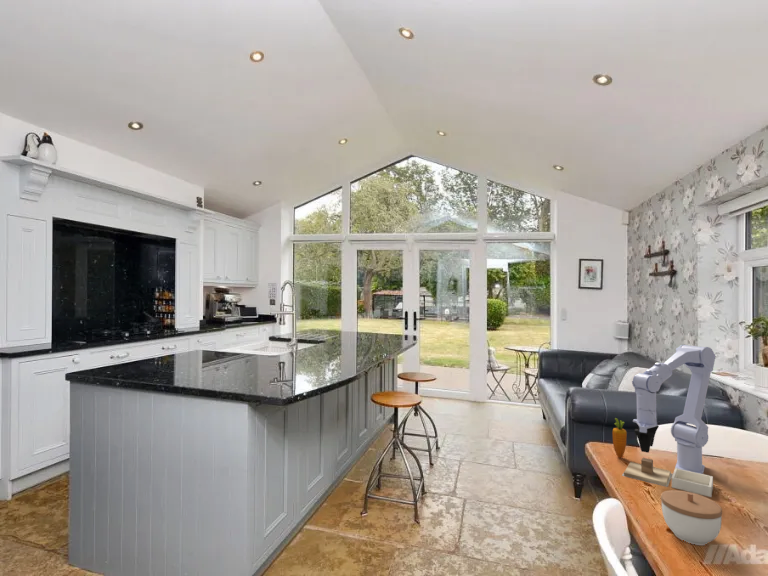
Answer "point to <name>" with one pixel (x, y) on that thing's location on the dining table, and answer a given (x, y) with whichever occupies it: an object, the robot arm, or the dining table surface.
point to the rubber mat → (651, 482)
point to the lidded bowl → (691, 516)
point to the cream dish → (692, 482)
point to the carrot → (619, 438)
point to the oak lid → (647, 472)
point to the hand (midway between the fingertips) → (647, 448)
